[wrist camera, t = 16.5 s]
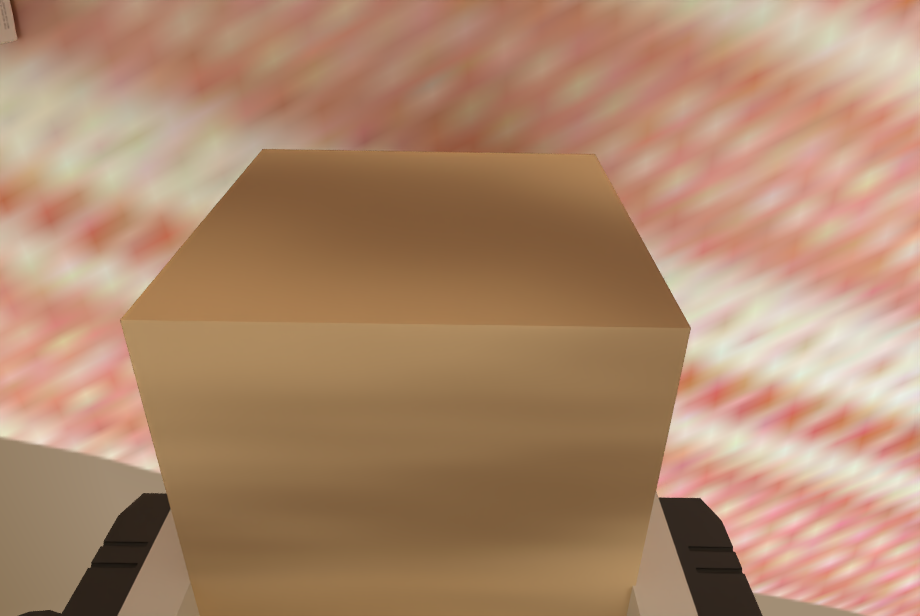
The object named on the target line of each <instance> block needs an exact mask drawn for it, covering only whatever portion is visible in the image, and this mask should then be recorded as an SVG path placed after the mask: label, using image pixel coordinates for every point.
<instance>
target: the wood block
mask: <svg viewBox="0 0 920 616" xmlns="http://www.w3.org/2000/svg"><path fill="white" fill-rule="evenodd" d="M120 321H121V325H122V329H123V333H124V336H125V340H126V344H127V347H128V351H129V355H130V359H131V362H132V366H133V370H134V374H135V377H136V381H137V385H138V388H139V392H140V396H141V400H142V403H143V407H144V411H145V415H146V418H147V422H148V426H149V430H150V433H151V437H152V441H153V444H154V448H155V452H156V456H157V459H158V463H159V467H160V471H161V474H162V478H163V481H164V485H165V489H166V493H167V497H168V500H169V504H170V508H171V512H172V515H173V519H174V523H175V527H176V530H177V534H178V538H179V542H180V545H181V549H182V553H183V556H184V560H185V564H186V568H187V571H188V575H189V579H190V582H191V586H192V589H193V593H194V596H195V600H196V604H197V607H198V611H199V615H200V616H627V611H628V606H629V601H630V596H631V592H632V587H633V586H636V581H637V577H638V572H639V567H640V563H641V558H642V553H643V549H644V544H645V539H646V535H647V530H648V525H649V521H650V516H651V511H652V507H653V502H654V497H655V493H656V488H657V483H658V479H659V474H660V469H661V465H662V460H663V455H664V451H665V446H666V441H667V437H668V432H669V427H670V423H671V418H672V413H673V409H674V404H675V399H676V395H677V390H678V385H679V381H680V376H681V371H682V367H683V362H684V357H685V353H686V348H687V343H688V339H689V334H690V329H691V327H690V326H689V324H688V322H687V320H686V318H685V317H684V315H683V313H682V311H681V309H680V308H679V306H678V304H677V302H676V300H675V299H674V297H673V295H672V293H671V291H670V289H669V288H668V286H667V284H666V282H665V280H664V279H663V277H662V275H661V273H660V271H659V270H658V268H657V266H656V264H655V262H654V260H653V259H652V257H651V255H650V253H649V251H648V250H647V248H646V246H645V244H644V242H643V241H642V239H641V237H640V235H639V233H638V232H637V230H636V228H635V226H634V224H633V222H632V221H631V219H630V217H629V215H628V213H627V212H626V210H625V208H624V206H623V204H622V203H621V201H620V199H619V197H618V195H617V193H616V192H615V190H614V188H613V186H612V184H611V183H610V181H609V179H608V177H607V175H606V174H605V172H604V170H603V168H602V166H601V165H600V163H599V161H598V159H597V157H596V155H595V154H539V153H476V152H412V151H349V150H285V149H262V151H261V152H260V153H259V154H258V155H257V157H256V158H255V159H254V160H253V161H252V163H251V164H250V165H249V166H248V167H247V169H246V170H245V171H244V172H243V173H242V175H241V176H240V177H239V178H238V179H237V181H236V182H235V183H234V184H233V185H232V187H231V188H230V189H229V190H228V191H227V193H226V194H225V195H224V196H223V197H222V199H221V200H220V201H219V202H218V203H217V205H216V206H215V207H214V208H213V209H212V211H211V212H210V213H209V214H208V215H207V216H206V218H205V219H204V220H203V221H202V222H201V224H200V225H199V226H198V227H197V228H196V230H195V231H194V232H193V233H192V234H191V236H190V237H189V238H188V239H187V240H186V242H185V243H184V244H183V245H182V246H181V248H180V249H179V250H178V251H177V252H176V254H175V255H174V256H173V257H172V258H171V260H170V261H169V262H168V263H167V264H166V266H165V267H164V268H163V269H162V270H161V272H160V273H159V274H158V275H157V276H156V278H155V279H154V280H153V281H152V282H151V284H150V285H149V286H148V287H147V288H146V290H145V291H144V292H143V293H142V294H141V296H140V297H139V298H138V299H137V300H136V302H135V303H134V304H133V305H132V306H131V308H130V309H129V310H128V311H127V312H126V314H125V315H124V316H123V317H122V318H121V320H120Z"/></svg>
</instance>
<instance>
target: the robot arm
mask: <svg viewBox="0 0 920 616" xmlns="http://www.w3.org/2000/svg"><path fill="white" fill-rule="evenodd" d="M91 563H92V565H91V568H88V569H87V571H86V573H85V575H84V576H83V578H82V580H81V581H80V583H79V585H78V586H77V588H76V590H75V592H74V594H73V595H72V597H71V599H70V600H69V602H68V604H67V605H66V607H65V609H64V611H63V612H62V614H61V613H57V612H54V611H51V610H45V611H33V612H27V613H25V614H22V615H19V616H200V615H199V611H198V607H197V604H196V600H195V596H194V593H193V589H192V586H191V582H190V579H189V575H188V571H187V568H186V564H185V560H184V556H183V553H182V549H181V545H180V542H179V538H178V534H177V530H176V527H175V523H174V519H173V515H172V512H171V508H170V504H169V500H168V497H167V494H158V493H155V494H154V493H151V494H149V493H143V494H142V495H141V496H140V497H139V498H138V499H136V500H135V502H133V503H132V504H131V505H130V506H129V507H128V508H126V509H125V510H124V511H123V512H122V513H121V514H120V515H119V516H118V517H117V519H116V521H115V523H114V524H113V526H112V528H111V529H110V531H109V533H108V535H107V536H106V538H105V540H104V545H103V547H102V546H101V547H100V549H99V550H98V552H97V554H96V555H95V557H94V559H93V561H92V562H91ZM627 616H762V614H761V611H760V609H759V607H758V604H757V602H756V600H755V597H754V595H753V593H752V590H751V588H750V586H749V583H748V581H747V579H746V576H745V574H743V573H742V567H741V565H740V562H739V560H738V558H737V555H736V553H735V552H733V546H732V544H731V541H730V539H729V537H728V534H727V532H726V530H725V527H724V525H723V523H722V521H721V520H720V519H719V517H718V516H717V515H716V514H715V513H714V512H713V511H712V510H711V509H710V508H709V507H708V506H707V505H706V504H705V503H704V502H703V501H702V500H701V499H700V498H658V495H657V492H656V493H655V497H654V502H653V507H652V511H651V516H650V521H649V525H648V530H647V535H646V539H645V544H644V549H643V553H642V558H641V563H640V567H639V572H638V577H637V581H636V586H633V587H632V592H631V596H630V601H629V606H628V611H627Z"/></svg>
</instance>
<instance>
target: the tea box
mask: <svg viewBox="0 0 920 616" xmlns="http://www.w3.org/2000/svg"><path fill="white" fill-rule="evenodd" d="M16 40H17V35H16V30H15V24H14V18H13V13H12V8H11V4H10V0H0V44H4V43H9V42H13V41H16Z"/></svg>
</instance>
